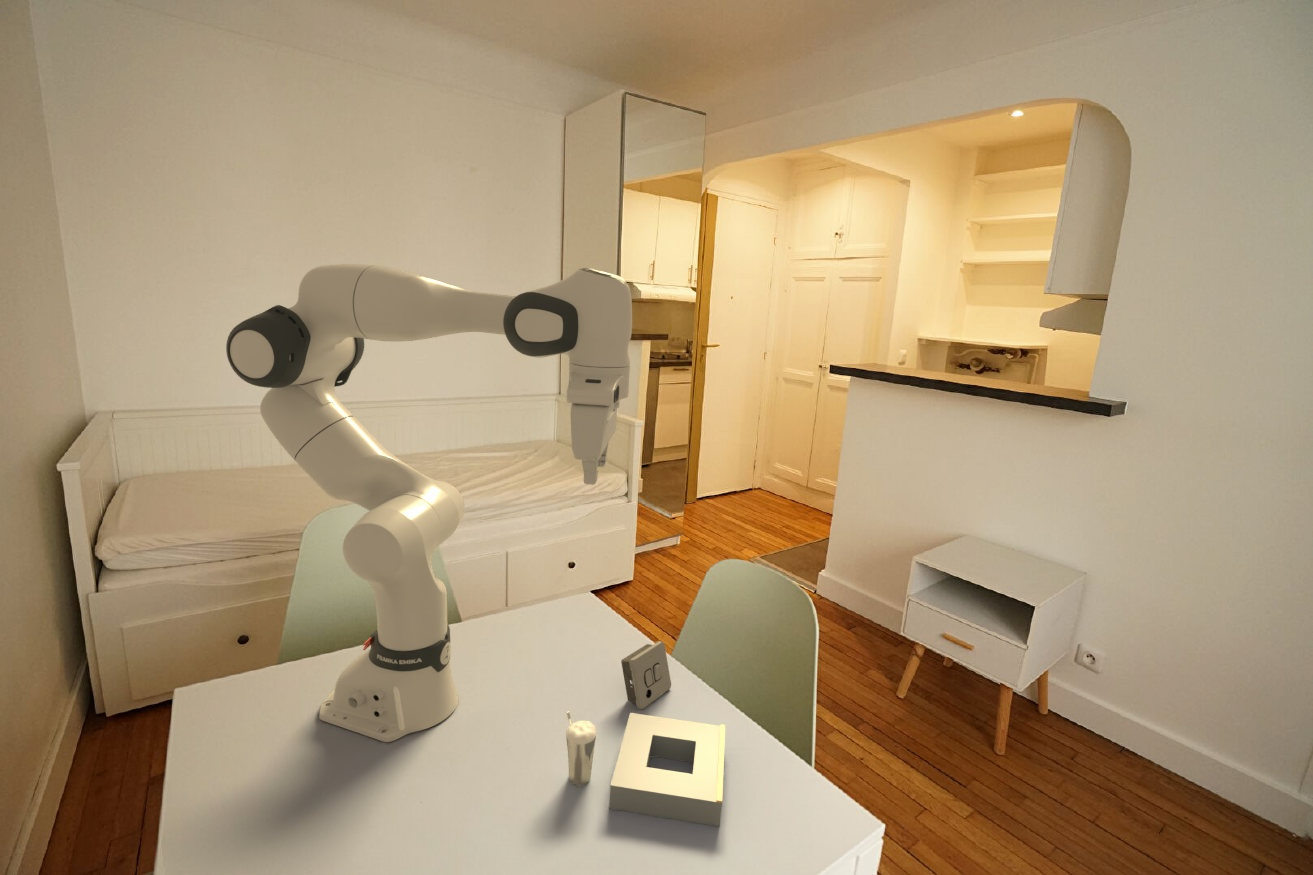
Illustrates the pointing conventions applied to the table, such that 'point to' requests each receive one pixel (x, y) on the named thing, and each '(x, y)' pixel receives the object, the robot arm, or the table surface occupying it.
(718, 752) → the socket block
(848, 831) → the table surface
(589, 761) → the milkshake
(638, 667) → the electrical switch
